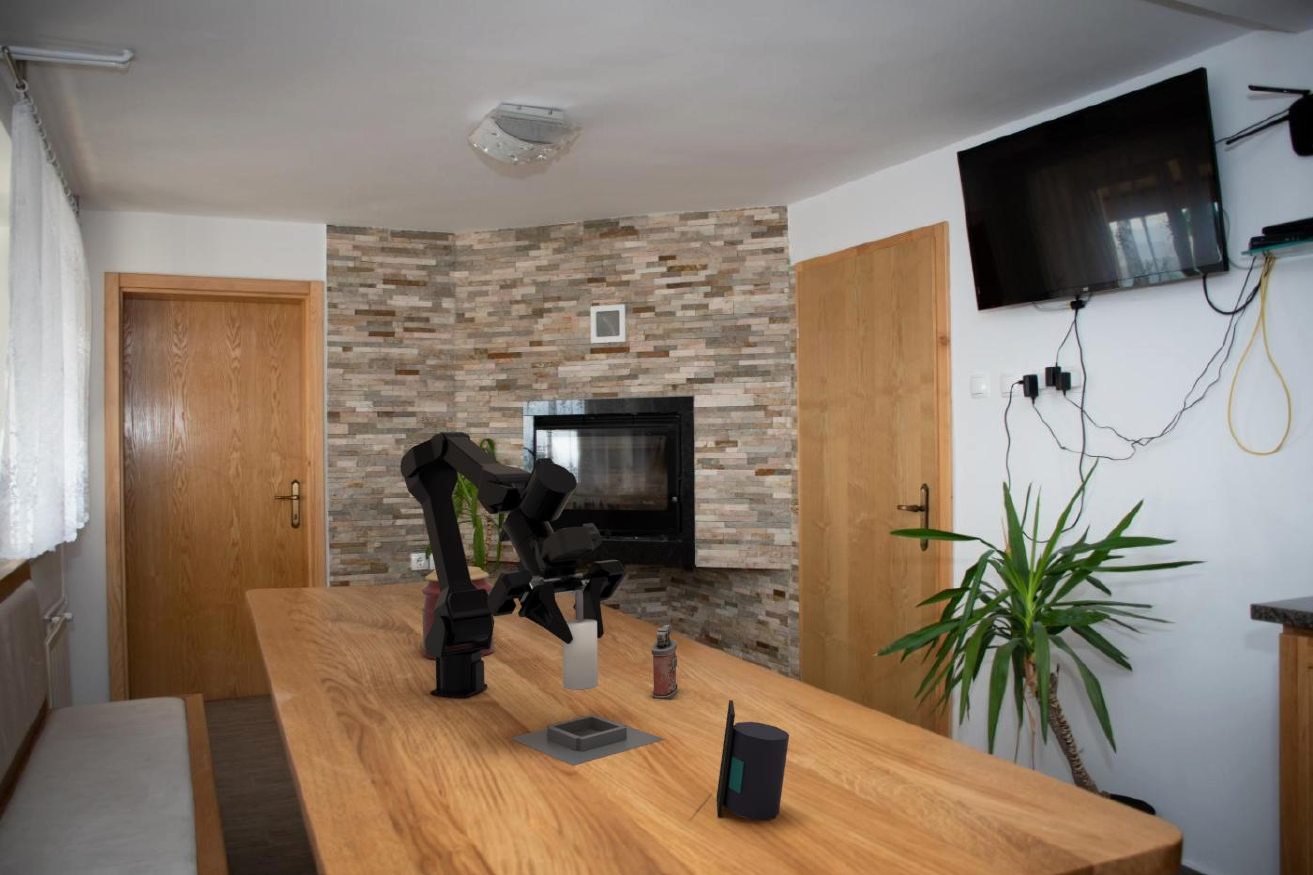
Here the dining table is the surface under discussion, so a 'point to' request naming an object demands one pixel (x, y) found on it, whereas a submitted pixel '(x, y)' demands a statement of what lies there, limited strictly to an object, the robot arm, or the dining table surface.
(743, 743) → the speaker
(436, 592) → the canister
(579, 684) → the plug
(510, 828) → the dining table surface
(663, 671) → the lighter
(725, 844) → the dining table surface
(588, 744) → the dock
